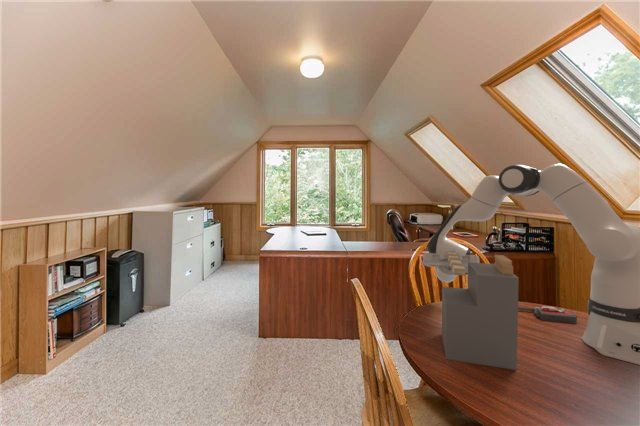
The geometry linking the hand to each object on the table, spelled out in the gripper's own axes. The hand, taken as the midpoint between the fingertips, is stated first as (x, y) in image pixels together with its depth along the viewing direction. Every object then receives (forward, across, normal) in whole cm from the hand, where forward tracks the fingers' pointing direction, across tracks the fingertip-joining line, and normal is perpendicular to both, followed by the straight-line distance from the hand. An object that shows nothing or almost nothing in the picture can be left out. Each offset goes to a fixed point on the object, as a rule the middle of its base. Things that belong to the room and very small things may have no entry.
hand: (451, 254), depth 108 cm
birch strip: (+7, 0, +6) cm, 9 cm away
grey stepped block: (+3, +5, +32) cm, 33 cm away
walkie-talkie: (-29, +36, +14) cm, 48 cm away
